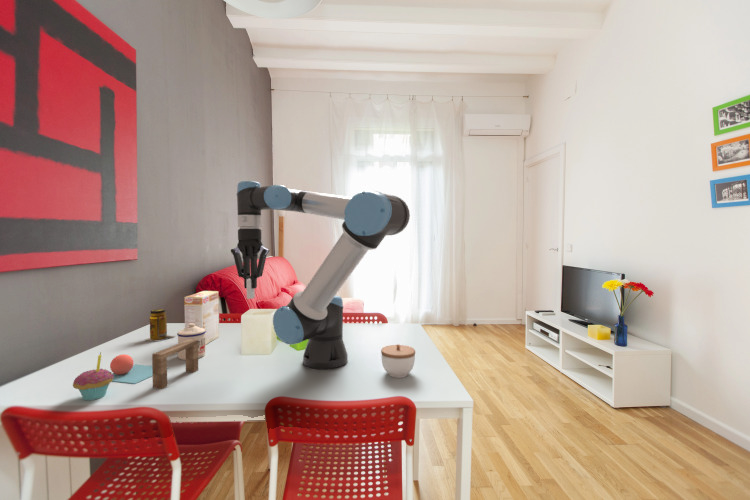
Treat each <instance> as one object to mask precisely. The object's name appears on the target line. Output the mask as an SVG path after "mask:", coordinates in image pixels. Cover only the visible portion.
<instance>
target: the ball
mask: <svg viewBox="0 0 750 500" xmlns="http://www.w3.org/2000/svg"><path fill="white" fill-rule="evenodd" d="M109 365H110V366H109V368H110V372H111V373H112V374H113V373H115V374H117V375H122V374H126V373H128V372H129V371H130V370H131V369H132V367H133V365H135V364H134V359H133V357H132V356H131V355H128V354H124V353H123V354H118V355H116V356H115V357H114V358H112V360H111V362H110V364H109Z"/></svg>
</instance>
